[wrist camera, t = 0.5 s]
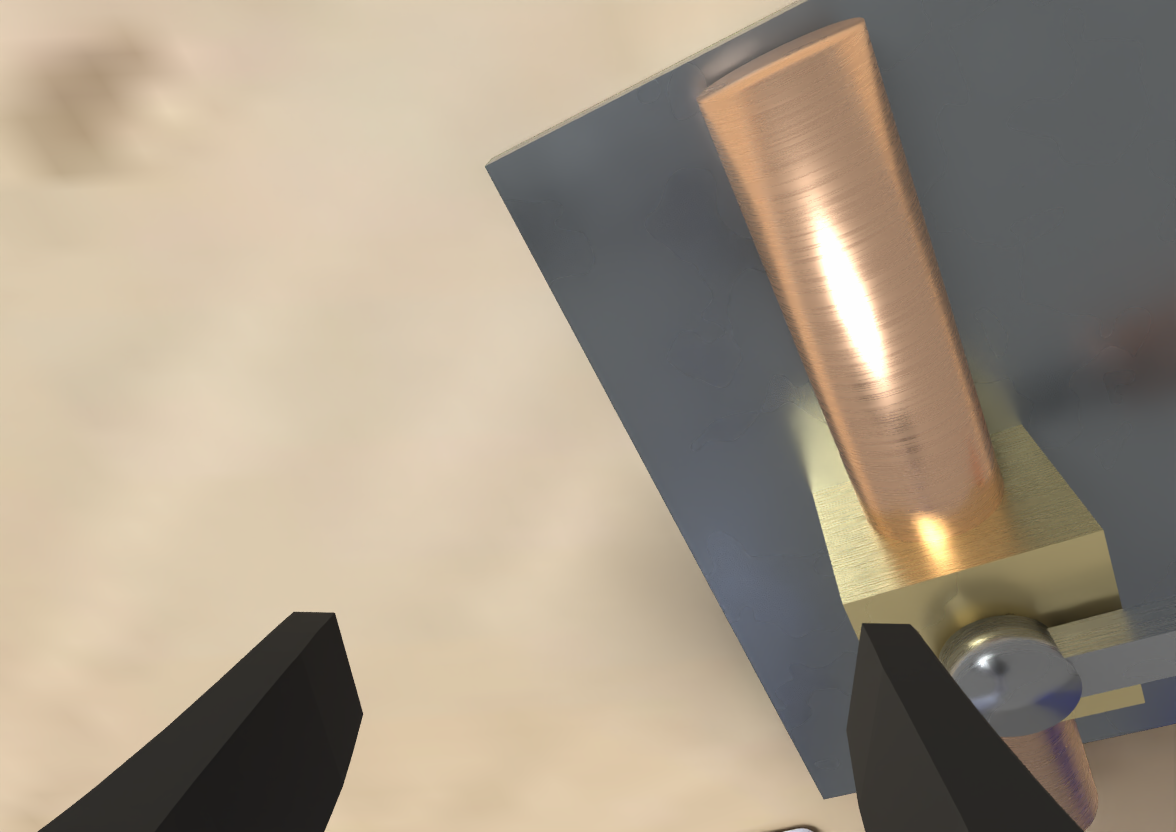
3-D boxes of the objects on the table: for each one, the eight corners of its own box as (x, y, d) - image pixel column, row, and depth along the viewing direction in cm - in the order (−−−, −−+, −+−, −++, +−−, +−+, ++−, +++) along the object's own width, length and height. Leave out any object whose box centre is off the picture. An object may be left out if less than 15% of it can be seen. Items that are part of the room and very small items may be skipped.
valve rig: (1391, 649, 22) (1563, 811, 18) (819, 777, 26) (848, 930, 22) (1348, -284, 13) (1679, -406, 9) (492, 158, 17) (436, 218, 13)
